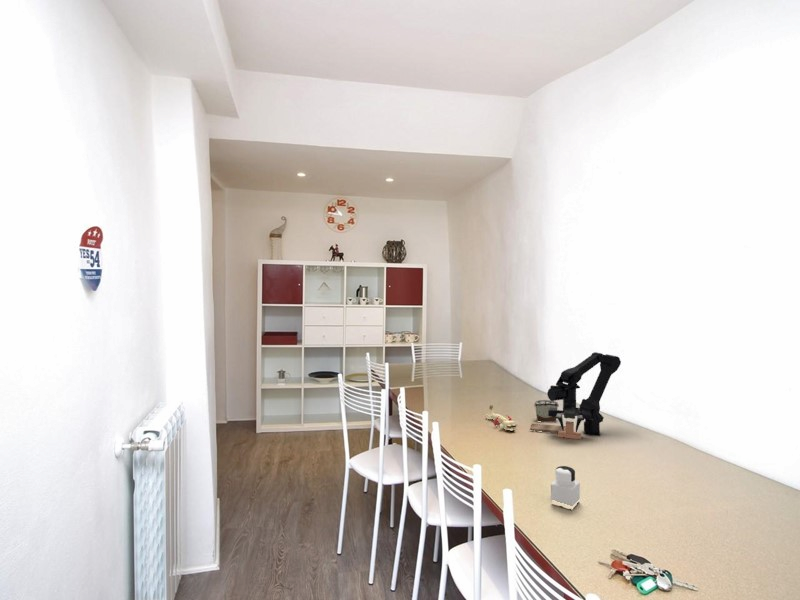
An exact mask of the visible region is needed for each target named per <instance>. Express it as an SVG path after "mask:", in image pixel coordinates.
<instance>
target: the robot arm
mask: <svg viewBox="0 0 800 600" xmlns="http://www.w3.org/2000/svg"><path fill="white" fill-rule="evenodd" d="M598 364H599V368H600V372H599V374H598V376H597V378H596V380H595V383H594V385H593V387H592V390H591V392H590V394H589V395H588V397H587V398H586V399H585V398H582V400H581V402H580V405H579V407H577V389H580V388H581V387H580V386H579V385H578V383H579V382H580V381H581V379H582V377H583V375H584V374H586V373H587V372H588V371H590V370H592V368H594V367H595V366H597V365H598ZM621 364H622V361H621V359H620V357H619V356H617V355H613V354H603V353H601V352H597V351H595V352H593V353H591V355H590V356H588V357H587V358H585V359H584V360H582V361H581V362H580V363H579V364H577V365H575V366H573V367H570V368H567V369H564V370H562V372H561V373H560V375H559V378H558V379H557V382H556V383H555V385H550V388H549V389H548V390H547V398H548V400H551V401H555V402H557V401H561V400H562V410H560V409H558V408H551V407H550V408H549V410H548V416H552V417H555V418H556V420H558V422H559V425H560V426H561V427H562V430H563V431H564V426H565V425H564V420H563V417H564V418H565V419H571V420H574V419H576V423H575V424H576V426H575V432H578V430H579V428H580V424H581V423H582V421H583V432H584V434H585V435H594V436H596V435H597V436H601V429H600V426H601V425H600V423H602V422H604V421H603V420H604V416H603V415H602V414H601V413H600V410H601V405H600V401H601V399H602V397H603V395H604V393H605V390H606V388H607V385H608V384H609V383H608V382H609V381H610V378H611V377H612V375H614V373H615V372H617V371H618V369H619V368H620V366H621Z"/></svg>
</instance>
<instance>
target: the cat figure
mask: <svg viewBox="0 0 800 600" xmlns="http://www.w3.org/2000/svg"><path fill="white" fill-rule="evenodd" d="M493 409H494V405H492V404H490V405H489V412H490V414H489V413H486V414H485V415H487V416H488V417H491V418H493V419H494V420H493V421H494V422H493V425H494V426H495V425H497V426H498V423H500V424H499V428H500V429H503V428H505V429H514V431H516V428H517V427H518V423H516V422H515V421H514V420H512V417H510V416H509V415H505V416H506V417H507V418H506V417H505V416H503V415H501V414H499V413H495V412H494V410H493ZM511 431H512V430H511Z"/></svg>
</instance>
